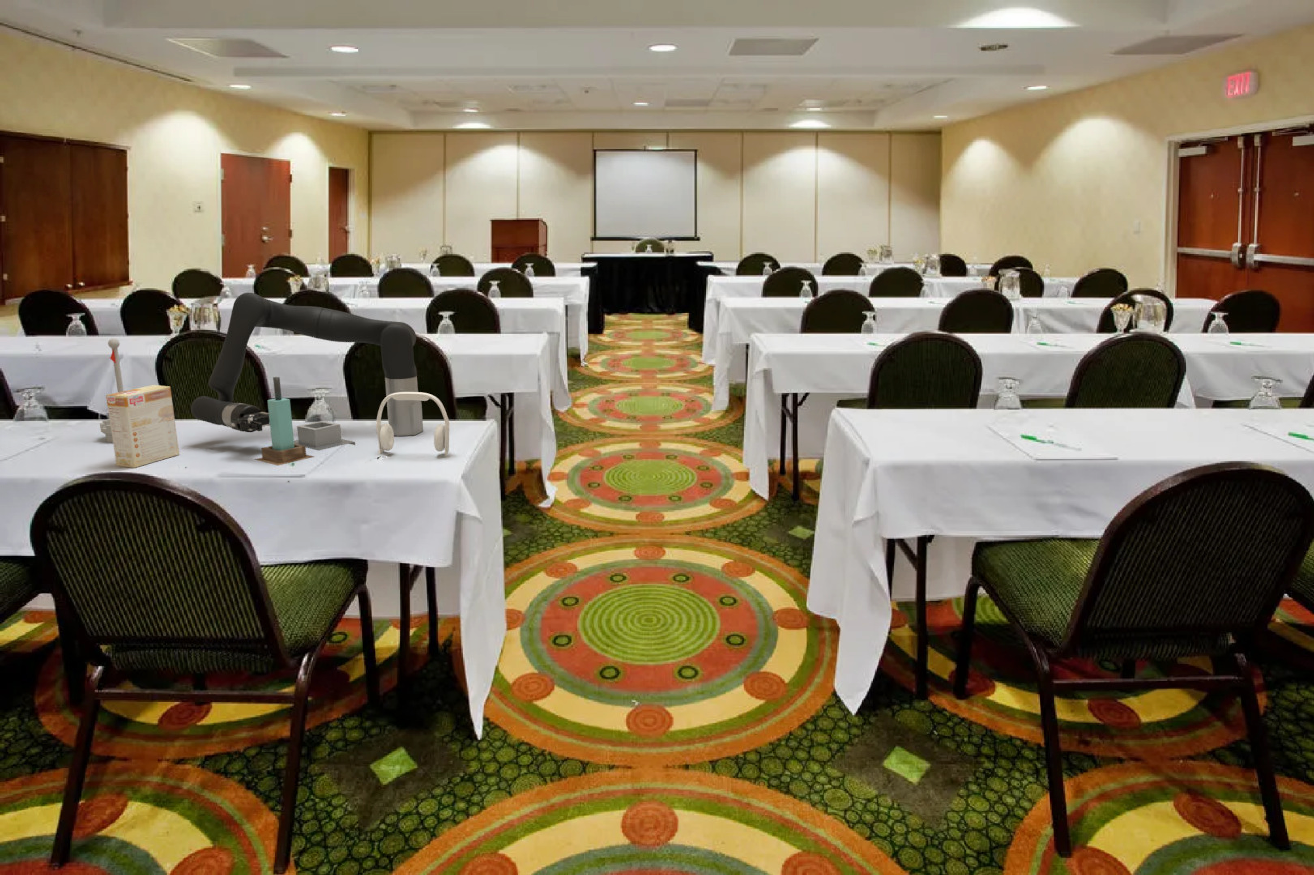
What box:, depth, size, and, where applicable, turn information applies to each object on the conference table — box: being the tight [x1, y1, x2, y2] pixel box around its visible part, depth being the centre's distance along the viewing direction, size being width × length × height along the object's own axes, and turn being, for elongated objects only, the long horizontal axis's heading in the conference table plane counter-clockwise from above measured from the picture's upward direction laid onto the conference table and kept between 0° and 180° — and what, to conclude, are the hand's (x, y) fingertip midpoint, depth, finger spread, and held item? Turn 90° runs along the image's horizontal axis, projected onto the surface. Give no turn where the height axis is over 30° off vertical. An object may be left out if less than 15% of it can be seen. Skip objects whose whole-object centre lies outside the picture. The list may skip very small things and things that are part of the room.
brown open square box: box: [254, 444, 315, 466], centre depth 258 cm, size 11×11×4 cm
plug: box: [267, 376, 295, 451], centre depth 255 cm, size 4×4×22 cm
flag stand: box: [99, 338, 124, 443], centre depth 283 cm, size 13×13×30 cm
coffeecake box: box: [105, 384, 180, 469], centre depth 258 cm, size 15×7×20 cm, turn 159°
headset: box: [375, 391, 450, 459], centre depth 261 cm, size 20×7×18 cm, turn 86°
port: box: [294, 420, 356, 451], centre depth 275 cm, size 12×16×6 cm
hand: (275, 424), depth 257 cm, fingers open, 8 cm apart
